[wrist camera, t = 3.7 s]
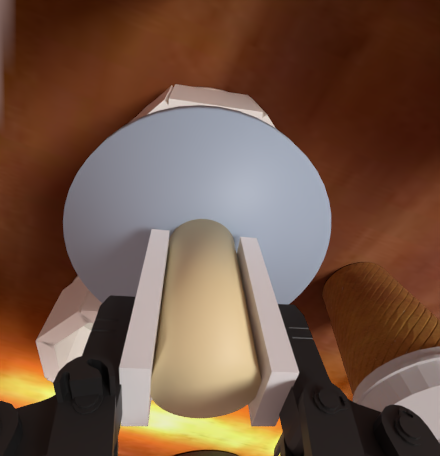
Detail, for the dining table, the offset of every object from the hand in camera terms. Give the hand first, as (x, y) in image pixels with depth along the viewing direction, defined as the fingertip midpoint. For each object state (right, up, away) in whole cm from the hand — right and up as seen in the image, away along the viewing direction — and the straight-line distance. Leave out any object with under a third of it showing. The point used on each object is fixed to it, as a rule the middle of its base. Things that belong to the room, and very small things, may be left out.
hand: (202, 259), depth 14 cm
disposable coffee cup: (+14, -4, +16) cm, 21 cm away
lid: (0, +1, +2) cm, 2 cm away
